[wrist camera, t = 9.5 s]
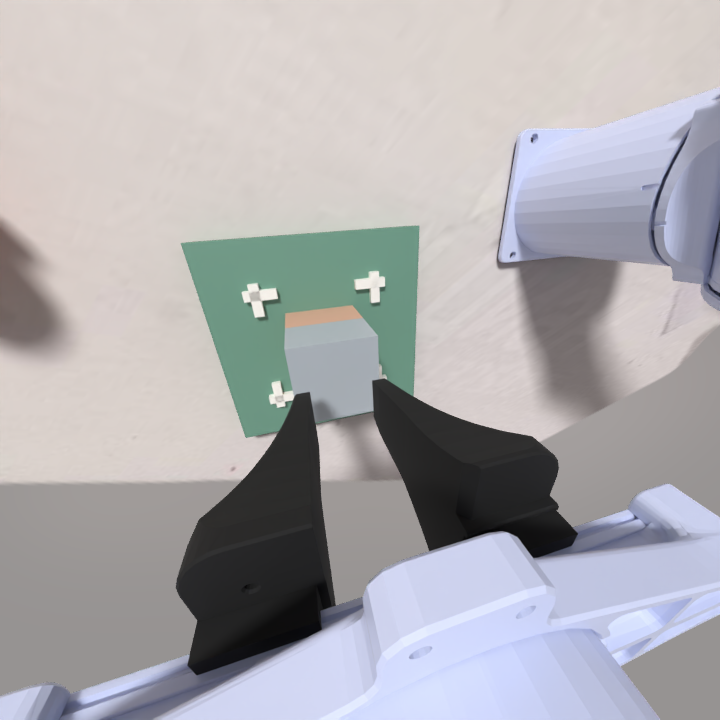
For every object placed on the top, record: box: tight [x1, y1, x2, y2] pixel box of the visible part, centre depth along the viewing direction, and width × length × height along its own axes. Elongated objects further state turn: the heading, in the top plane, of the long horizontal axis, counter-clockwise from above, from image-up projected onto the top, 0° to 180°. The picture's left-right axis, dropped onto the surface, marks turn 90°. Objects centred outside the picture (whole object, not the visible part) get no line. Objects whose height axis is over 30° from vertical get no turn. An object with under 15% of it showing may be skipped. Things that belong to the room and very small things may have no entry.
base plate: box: [181, 226, 419, 438], centre depth 19 cm, size 14×14×2 cm
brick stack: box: [284, 305, 379, 423], centre depth 16 cm, size 4×4×6 cm
